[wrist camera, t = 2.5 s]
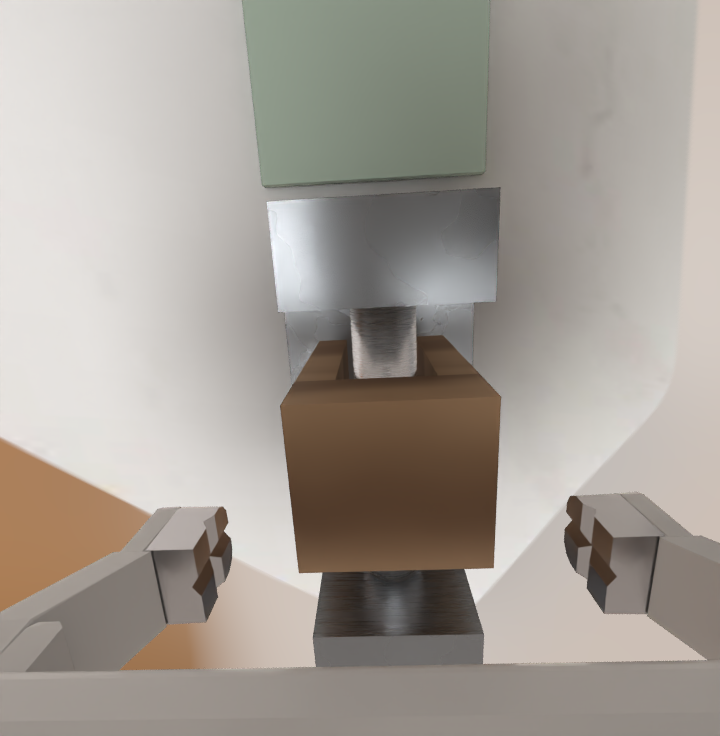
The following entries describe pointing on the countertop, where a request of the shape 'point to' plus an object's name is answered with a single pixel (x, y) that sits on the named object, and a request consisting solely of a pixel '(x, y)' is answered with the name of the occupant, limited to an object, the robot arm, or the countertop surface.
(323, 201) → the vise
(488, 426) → the wooden block
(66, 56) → the countertop surface
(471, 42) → the mat
